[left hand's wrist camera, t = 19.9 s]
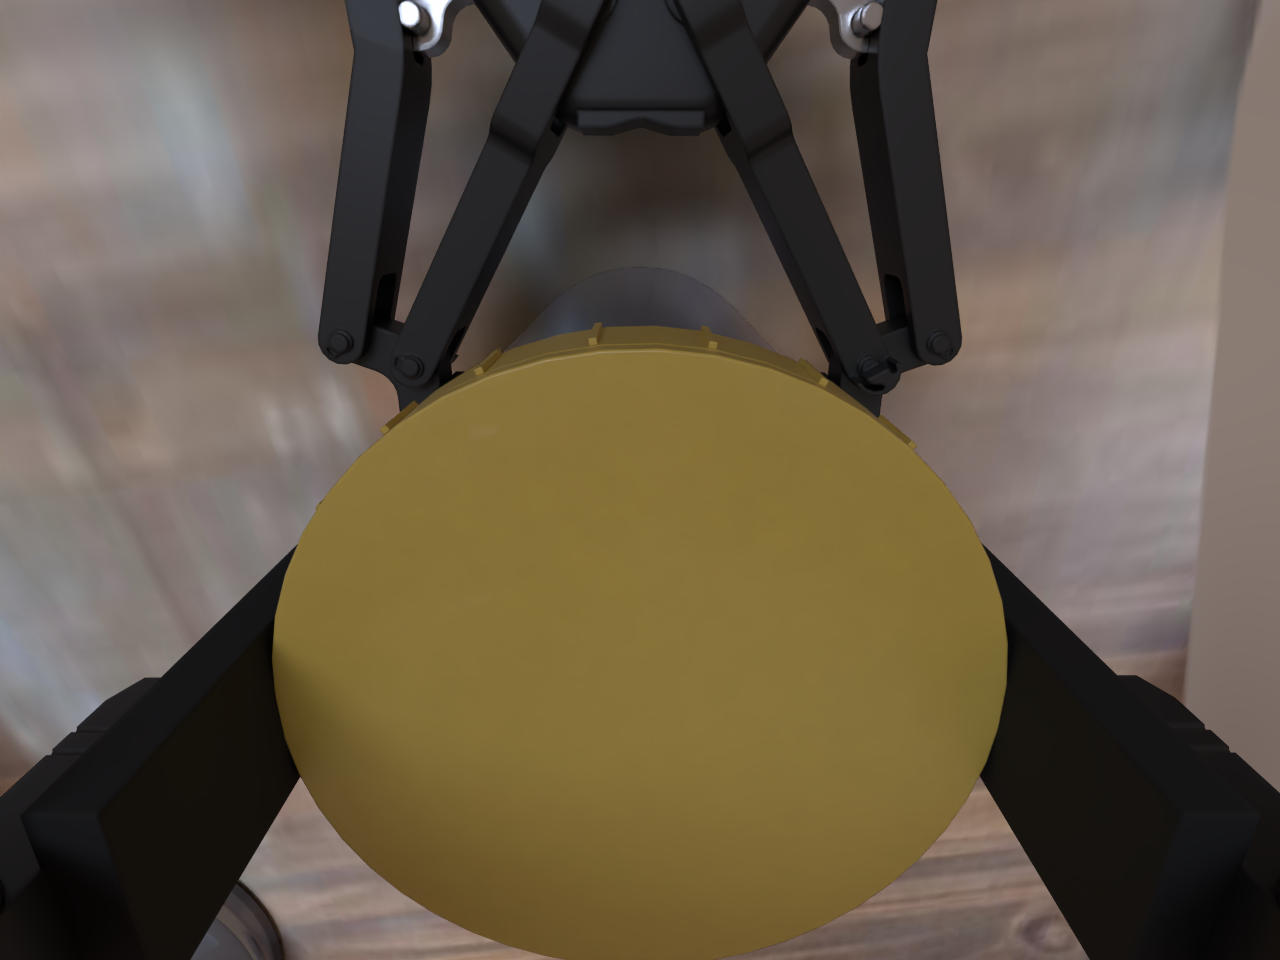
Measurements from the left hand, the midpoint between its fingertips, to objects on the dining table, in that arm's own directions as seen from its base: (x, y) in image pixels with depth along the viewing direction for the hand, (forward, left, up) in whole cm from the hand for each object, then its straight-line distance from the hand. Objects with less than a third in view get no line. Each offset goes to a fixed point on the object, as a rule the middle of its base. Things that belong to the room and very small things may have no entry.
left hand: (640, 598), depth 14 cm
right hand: (-4, 0, -9) cm, 10 cm away
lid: (0, 0, +3) cm, 3 cm away
